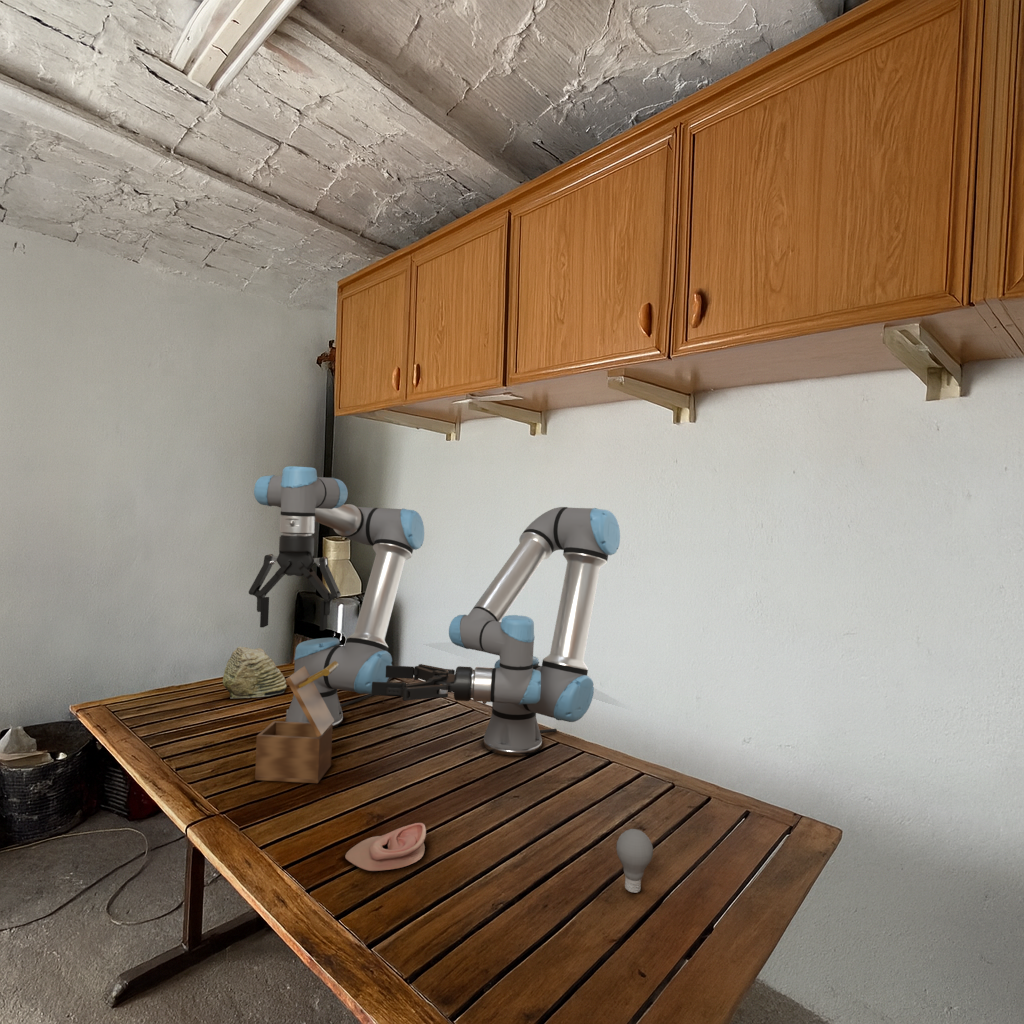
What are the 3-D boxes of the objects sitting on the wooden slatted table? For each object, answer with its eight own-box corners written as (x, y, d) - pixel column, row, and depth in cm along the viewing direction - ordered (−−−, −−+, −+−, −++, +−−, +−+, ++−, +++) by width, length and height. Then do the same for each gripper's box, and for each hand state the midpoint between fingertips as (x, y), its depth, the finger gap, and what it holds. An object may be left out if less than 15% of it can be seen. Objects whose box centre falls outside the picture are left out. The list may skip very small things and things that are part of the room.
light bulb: (610, 879, 108) (613, 822, 108) (644, 879, 109) (647, 822, 109) (619, 902, 102) (622, 840, 102) (655, 901, 103) (658, 840, 103)
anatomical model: (337, 842, 109) (366, 811, 120) (336, 865, 109) (365, 832, 120) (410, 854, 106) (432, 821, 117) (409, 878, 106) (432, 842, 118)
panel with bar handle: (285, 679, 140) (320, 660, 139) (301, 667, 149) (333, 650, 149) (317, 737, 140) (352, 718, 139) (330, 722, 149) (363, 704, 149)
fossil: (218, 695, 195) (220, 647, 195) (278, 685, 208) (279, 640, 207) (228, 703, 189) (230, 653, 188) (289, 692, 201) (290, 645, 201)
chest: (254, 780, 140) (256, 735, 140) (272, 762, 150) (273, 720, 149) (317, 783, 140) (319, 738, 140) (331, 765, 149) (332, 723, 149)
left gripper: (235, 533, 140) (231, 628, 141) (347, 538, 140) (343, 633, 140) (250, 531, 148) (246, 621, 148) (356, 536, 147) (352, 627, 148)
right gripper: (466, 719, 131) (364, 714, 131) (476, 684, 156) (390, 680, 156) (468, 683, 131) (366, 678, 131) (477, 654, 156) (391, 650, 156)
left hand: (293, 627), depth 144 cm, fingers open, 13 cm apart
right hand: (379, 679), depth 144 cm, fingers open, 13 cm apart
